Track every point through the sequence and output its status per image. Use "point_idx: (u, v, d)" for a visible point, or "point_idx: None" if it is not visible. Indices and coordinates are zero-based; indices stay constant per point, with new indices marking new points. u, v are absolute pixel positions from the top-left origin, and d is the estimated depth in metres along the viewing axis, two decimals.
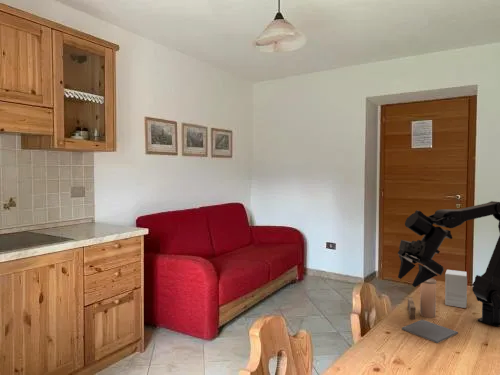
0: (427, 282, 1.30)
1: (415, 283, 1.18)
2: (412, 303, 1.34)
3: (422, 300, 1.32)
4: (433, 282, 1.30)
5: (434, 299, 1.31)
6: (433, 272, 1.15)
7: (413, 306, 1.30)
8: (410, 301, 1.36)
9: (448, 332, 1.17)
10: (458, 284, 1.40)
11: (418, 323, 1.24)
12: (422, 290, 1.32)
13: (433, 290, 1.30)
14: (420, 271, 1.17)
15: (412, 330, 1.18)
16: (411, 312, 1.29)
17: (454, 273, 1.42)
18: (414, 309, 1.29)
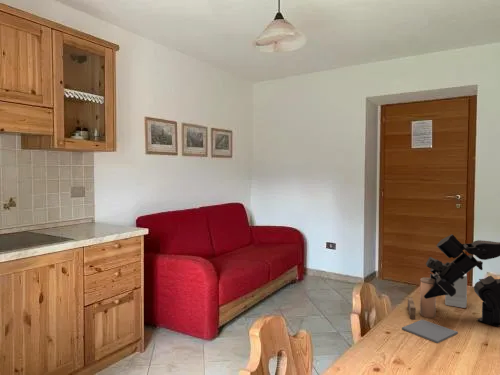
0: (427, 282, 1.30)
1: (426, 295, 1.30)
2: (412, 303, 1.34)
3: (422, 300, 1.32)
4: (433, 282, 1.30)
5: (434, 299, 1.31)
6: (444, 290, 1.25)
7: (413, 306, 1.30)
8: (410, 301, 1.36)
9: (448, 332, 1.17)
10: (458, 284, 1.40)
11: (418, 323, 1.24)
12: (422, 290, 1.32)
13: None
14: (433, 286, 1.28)
15: (412, 330, 1.18)
16: (411, 312, 1.29)
17: None
18: (414, 309, 1.29)
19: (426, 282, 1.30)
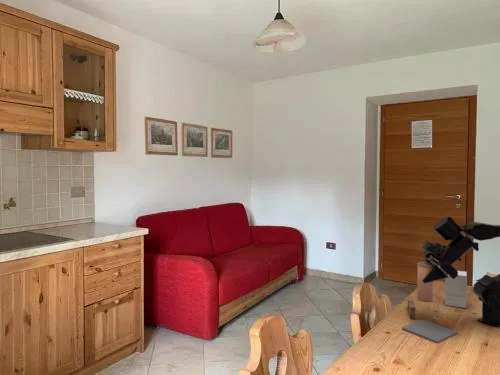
0: (426, 266, 1.26)
1: (425, 279, 1.26)
2: (412, 303, 1.34)
3: (420, 285, 1.28)
4: (431, 266, 1.27)
5: (432, 283, 1.27)
6: (444, 273, 1.22)
7: (413, 306, 1.30)
8: (410, 301, 1.36)
9: (448, 332, 1.17)
10: (458, 284, 1.40)
11: (418, 323, 1.24)
12: (420, 274, 1.28)
13: None
14: (432, 269, 1.25)
15: (412, 330, 1.18)
16: (411, 312, 1.29)
17: None
18: (414, 309, 1.29)
19: (425, 266, 1.27)
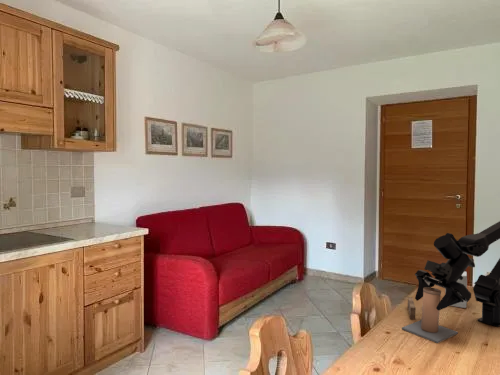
0: (436, 293, 1.16)
1: (440, 306, 1.13)
2: (412, 303, 1.34)
3: (429, 314, 1.17)
4: (440, 292, 1.17)
5: None
6: (461, 297, 1.12)
7: (413, 306, 1.30)
8: (410, 301, 1.36)
9: (448, 332, 1.17)
10: None
11: (418, 323, 1.24)
12: (429, 303, 1.17)
13: None
14: (447, 295, 1.13)
15: (412, 330, 1.18)
16: (411, 312, 1.29)
17: None
18: (414, 309, 1.29)
19: (435, 293, 1.16)
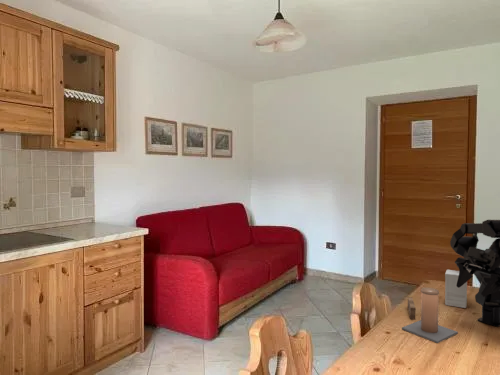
0: (434, 293, 1.16)
1: (485, 292, 1.13)
2: (412, 303, 1.34)
3: (428, 314, 1.17)
4: (438, 292, 1.17)
5: None
6: None
7: (413, 306, 1.30)
8: (410, 301, 1.36)
9: (448, 332, 1.17)
10: None
11: (418, 323, 1.24)
12: (427, 303, 1.17)
13: None
14: (492, 281, 1.12)
15: (412, 330, 1.18)
16: (411, 312, 1.29)
17: (454, 273, 1.42)
18: (414, 309, 1.29)
19: (433, 294, 1.16)
